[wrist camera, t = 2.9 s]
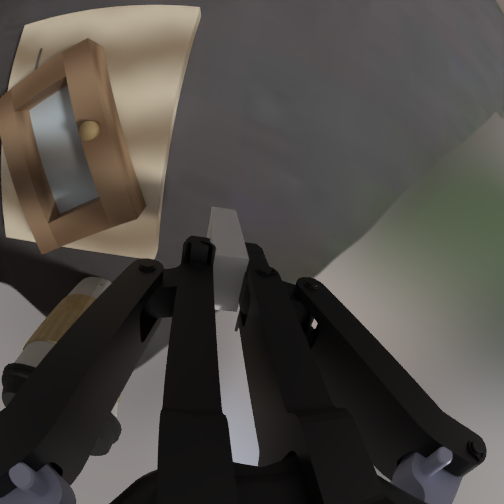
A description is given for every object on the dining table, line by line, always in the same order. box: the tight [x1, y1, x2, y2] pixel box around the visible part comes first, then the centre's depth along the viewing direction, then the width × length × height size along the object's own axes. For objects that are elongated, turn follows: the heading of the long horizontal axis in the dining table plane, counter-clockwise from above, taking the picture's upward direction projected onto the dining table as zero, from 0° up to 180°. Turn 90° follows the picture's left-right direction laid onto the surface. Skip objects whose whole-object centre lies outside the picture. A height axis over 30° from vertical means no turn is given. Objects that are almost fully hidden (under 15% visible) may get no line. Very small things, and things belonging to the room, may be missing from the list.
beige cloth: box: [1, 5, 201, 259], centre depth 16 cm, size 20×16×2 cm
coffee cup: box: [2, 277, 122, 456], centre depth 18 cm, size 10×10×15 cm
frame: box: [0, 38, 146, 254], centre depth 14 cm, size 13×9×4 cm
